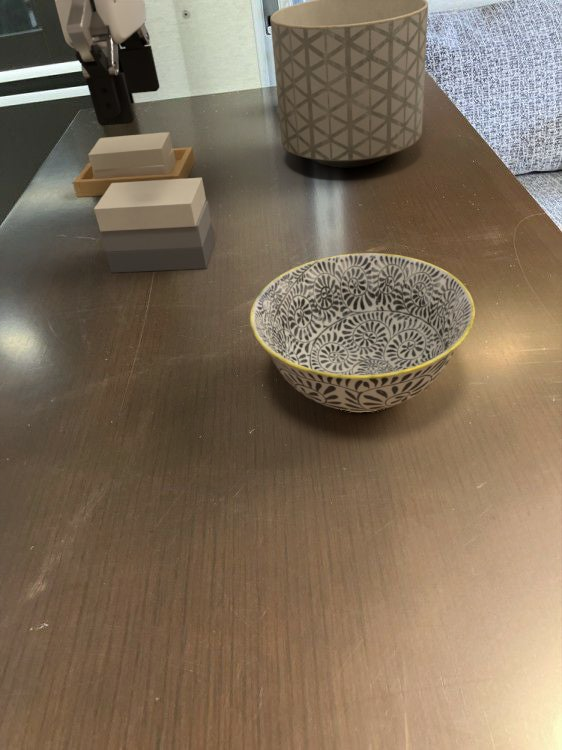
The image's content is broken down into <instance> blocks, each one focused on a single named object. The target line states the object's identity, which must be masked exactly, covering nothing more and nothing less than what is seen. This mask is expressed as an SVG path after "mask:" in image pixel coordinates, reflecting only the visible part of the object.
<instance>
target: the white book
mask: <svg viewBox="0 0 562 750" xmlns="http://www.w3.org/2000/svg"><path fill="white" fill-rule="evenodd" d="M205 201H207V198H206V192H205V187H204V182H203V177H187V179H171V180H155V181H138V182H122V183H112V184H111V185H110V186H109V188H108V189H107V191H106V192H105V194H104V195H101V198H100V199H99V201H98V202H97V203H96V205H95V207H94V208H93V211H94V215H95V218H96V222H97V224H98V229H99V230H100V231H120V230H138V229H157V228H176V227H194V226H196V223H197V221H198V218H199V216H200V213H201V210H202V208H203V205H204V203H205Z"/></svg>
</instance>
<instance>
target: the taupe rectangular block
mask: <svg viewBox="0 0 562 750" xmlns="http://www.w3.org/2000/svg"><path fill="white" fill-rule="evenodd" d="M173 148H174V147H173V144H172V138H171V133H170V131H166V132H165V131H164V132H153V133H143V134H132V135H131V134H130V135H122V136H121V135H120V136H109V137H108V136H107V137H99V139H98V140H97V141H96V142H95V144H94V146H93V147H92V149H90V152H89V153H88V154H87V156H88V159H89V162H90V163H91V166H92V172H93V175H94V179H99V178H115V177H130V176H146V175H162V174H171V172H172V171H173V169H174V167H175V165H176V159H175V154H174V149H173Z"/></svg>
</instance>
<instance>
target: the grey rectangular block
mask: <svg viewBox="0 0 562 750" xmlns="http://www.w3.org/2000/svg"><path fill="white" fill-rule="evenodd" d="M209 205H210V204H209V201H208V200H205V203H204V205H203V208H202V210H201V213H200V216H199V218H198V221H197V223H196V226H194V227H176V228H157V229H138V230H120V231H100V229H99V231H98V233H99V236H100V239H101V243H102V246H103V249H104V252H105V255H106V259H107V262H108V265H109V269H110V272H111V274H116V273H117V274H118V273H139V272H162V271H163V272H164V271H183V270H185V271H187V270H206V269H207V268H208V265H209V262H210V260H211V259H210V258H211V256H212V253H213V249H214V247H215V243H216V240H215V235H214V234H215V233H214V228H213V223H212V218H211V217H212V216H211V212H210V211H211V210H210V206H209Z"/></svg>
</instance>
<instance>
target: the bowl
mask: <svg viewBox="0 0 562 750" xmlns="http://www.w3.org/2000/svg"><path fill="white" fill-rule="evenodd" d="M475 314H476V308H475V303H474V300H473V297H472V294H471V293H470V291H469V290H468V288H467V286H466V285H465V284H464V283H463V282H461V281H460V280H459V279H458V278H457V277H456V276H455V275H453V274H452V273H450V272H449V271H447V270H445V269H443V268H441V267H440V266H437V265H435V264H433V263H430V262H427V261H424V260H422V259H418V258H415V257H410V256H404V255H398V254H391V253H382V252H381V253H379V252H363V253H362V252H360V253H346V254H340V255H339V254H338V255H333V256H328V257H323V258H318V259H316V260H312V261H309V262H306V263H303V264H300V265H297V266H295V267H293V268H291V269H289V270H287V271H286V272H283V273H282V274H280V275H278V276H277V277H275V278H274V279H273V280H271V281H269V282H268V284H267V285H265V286H264V287H263V288H262V289H261V290H260V292H259V293H258V295H257V296H256V298H255V299H254V302H253V303H252V306H251V309H250V312H249V323H250V327H251V331H252V334H253V335H254V337H255V339H256V340H257V342H258V344H260V346H261V347H262V348H263V349H264V350H265V351H266V353H267V354H268V355H269V357H270V358H271V360H272V362H273V363H274V366H275V367H276V368H277V371H279V373H280V375H282V377H283V378H284V379H285V380H286V381H287V382H288V383H289V385H290V386H291V387H292V388H294V389H295V390H296V391H298V392H299V393H300V394H301V395H303V396H305V397H306V398H307V399H310V400H311V401H313V402H315V403H318V404H320V405H323V406H324V407H328V408H332V409H336V410H339V409H340V410H339V411H342V410H347V411H374V410H380V409H383V410H386V409H389V408H392V407H395V406H398V405H401V404H403V403H406V402H407V401H410V400H411V399H413V398H415V397H416V396H418V395H419V394H420V393H422V392H424V391H425V390H426V389H428V388H429V387H430V386H431V385H432V384H433V383H434V381H436V380H437V379H438V378H439V376H440V375H441V373H442V372H443V371H444V369H445V368H446V366H447V364H448V363H449V362H450V360H451V358H452V357H453V355H454V353H455V351H457V348H458V347H459V346H460V345H461V344H462V343H463V342H464V340H465V339H466V338H467V337H468V334H469V333H470V331H471V330H472V327H473V324H474V322H475V316H476V315H475ZM385 408H386V409H385Z"/></svg>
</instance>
